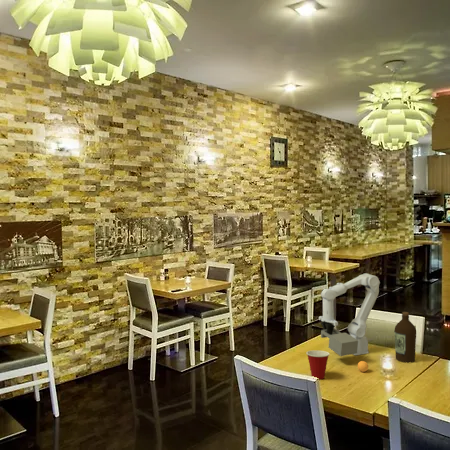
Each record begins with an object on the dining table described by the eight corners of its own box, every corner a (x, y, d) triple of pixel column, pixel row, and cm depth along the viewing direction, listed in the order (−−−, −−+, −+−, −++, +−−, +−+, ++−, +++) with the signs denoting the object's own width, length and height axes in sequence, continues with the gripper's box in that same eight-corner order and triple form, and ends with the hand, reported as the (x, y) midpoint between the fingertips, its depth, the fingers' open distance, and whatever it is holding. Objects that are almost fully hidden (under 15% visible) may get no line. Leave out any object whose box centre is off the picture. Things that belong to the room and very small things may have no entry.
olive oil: (404, 355, 238) (404, 309, 237) (420, 361, 228) (421, 313, 227) (389, 358, 233) (390, 311, 232) (405, 364, 224) (405, 315, 223)
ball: (363, 369, 218) (363, 359, 219) (370, 371, 214) (370, 361, 214) (355, 371, 216) (354, 361, 216) (362, 373, 212) (361, 362, 212)
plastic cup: (328, 373, 213) (328, 348, 213) (331, 382, 203) (331, 356, 202) (305, 372, 215) (305, 348, 214) (307, 381, 204) (307, 355, 203)
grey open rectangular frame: (334, 338, 243) (335, 326, 242) (356, 353, 226) (358, 340, 225) (319, 340, 239) (320, 328, 238) (340, 356, 222) (341, 343, 221)
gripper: (314, 309, 244) (314, 333, 245) (330, 314, 231) (330, 340, 232) (324, 307, 247) (324, 331, 248) (341, 313, 234) (341, 338, 234)
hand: (328, 335), depth 240 cm, fingers closed on grey open rectangular frame
